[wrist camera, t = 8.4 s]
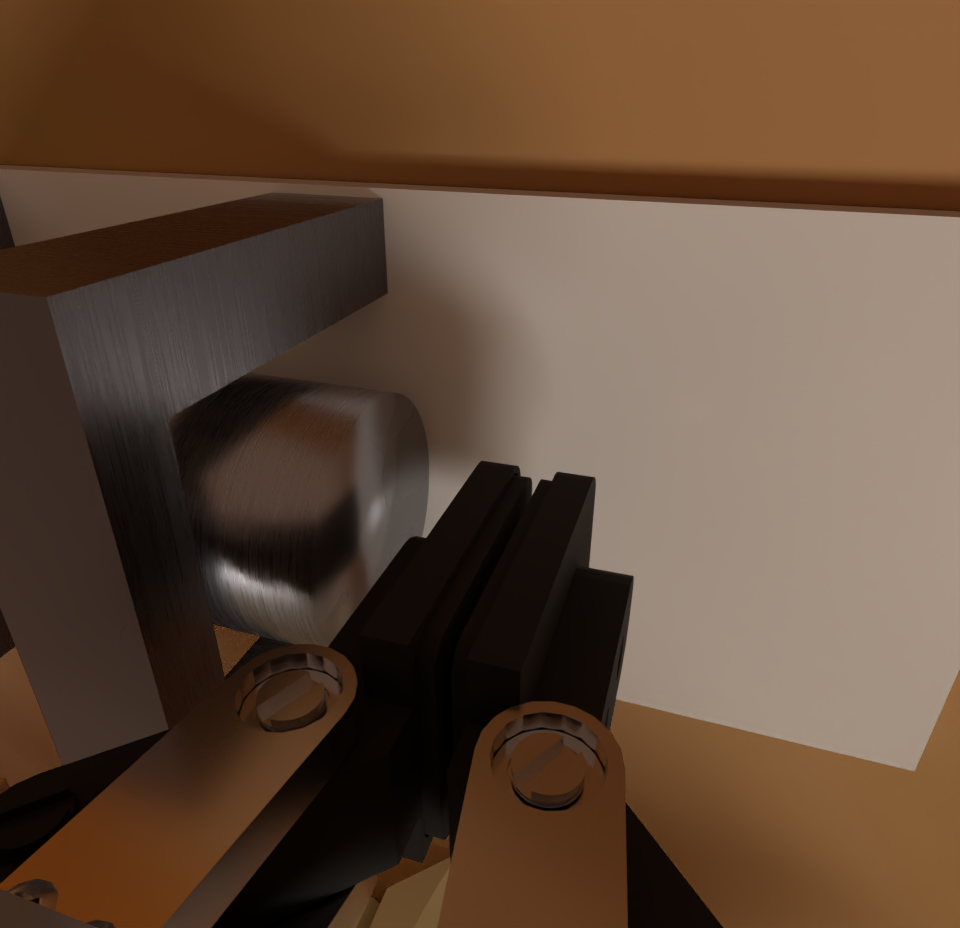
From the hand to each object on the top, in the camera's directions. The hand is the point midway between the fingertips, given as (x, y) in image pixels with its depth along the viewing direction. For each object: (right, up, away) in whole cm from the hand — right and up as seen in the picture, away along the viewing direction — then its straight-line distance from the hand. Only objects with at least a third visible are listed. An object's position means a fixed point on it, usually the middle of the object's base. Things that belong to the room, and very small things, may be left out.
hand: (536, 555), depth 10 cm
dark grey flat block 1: (-3, +2, +3) cm, 5 cm away
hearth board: (-2, +2, +3) cm, 4 cm away
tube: (-6, +2, +4) cm, 8 cm away
